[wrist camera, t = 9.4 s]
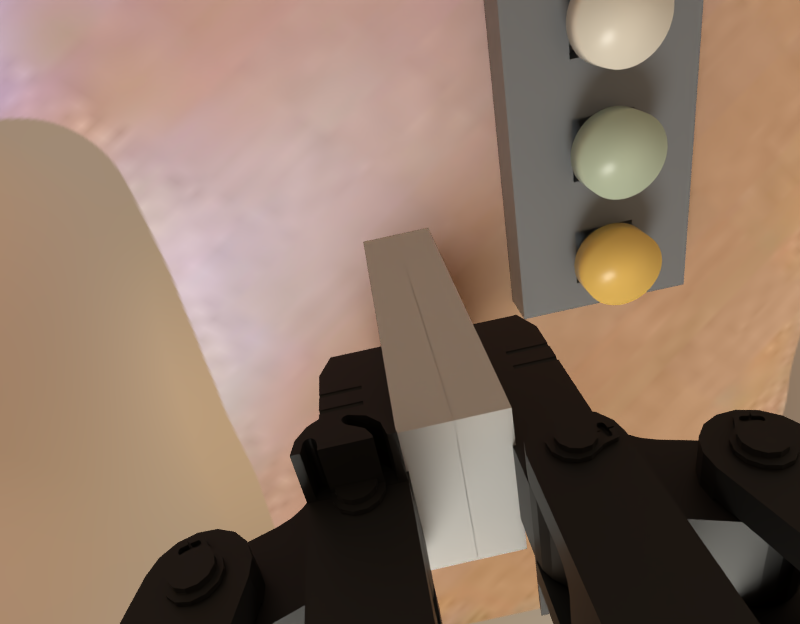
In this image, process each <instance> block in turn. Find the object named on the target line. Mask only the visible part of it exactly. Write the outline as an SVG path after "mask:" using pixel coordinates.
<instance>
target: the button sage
mask: <svg viewBox="0 0 800 624" xmlns="http://www.w3.org/2000/svg"><path fill="white" fill-rule="evenodd" d="M667 148H668V144H667V136H666V133H665V130H664V128H663V126H662V125H661V123H660V122H659V121H658V120H657V119H656V118H655V117H653V116H652V115H650V114H648V113H645V112H643V111H640V110H637V109H634V108H631V107H628V106H612V107H608V108H605V109H603V110H600V111H599V112H597V113H595V114H594V115H593V116H591V117H590V118H589V119H588V120H587V121H586V122H585V123H584V124H583V125H582V126H581V128H580V129H579V131H578V133H577V134H576V136H575V139H574V141H573V144H572V148H571V166H572V169H573V172H574V174H575V176H576V178H577V179H578V180H579V181H580V182H581V183H582V184H583V185H584V186H586V187H587V188H589V189H590V190H591V191H593V192H594V193H596V194H597V195H599V196H601V197H603V198H607V199H613V200H618V199H625V198H629V197H631V196H634V195H636V194H638V193H640V192H641V191H643V190H644V189H645V188H647V187H648V186H649V185H650V184H651V183H652V182H653V181H654V180H655V178H656V177H657V176H658V174H659V173H660V171H661V169H662V167H663V165H664V162H665V159H666V155H667Z"/></svg>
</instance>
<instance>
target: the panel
mask: <svg viewBox="0 0 800 624" xmlns="http://www.w3.org/2000/svg"><path fill="white" fill-rule="evenodd" d="M569 2H570V0H484V7H485V18H486V28H487V38H488V49H489V59H490V70H491V80H492V90H493V101H494V111H495V122H496V132H497V142H498V153H499V163H500V174H501V184H502V195H503V205H504V215H505V226H506V236H507V247H508V257H509V267H510V278H511V288H512V299H513V302H514V303H515V305H516V306H517V308H518V310H519V311H520V313H521V314H522V316H523V317H524V319H527V318H532V317H536V316H541V315H546V314H550V313H555V312H559V311H564V310H568V309H573V308H577V307H582V306H586V305H591V304H596V303H600V302H599V301H597V300H596V299H594V298H593V297H592V296H591V295H590V294H589V292H588V291H587V290H586V289H585V288H584V287H583V286H582V285H581V284H580V282H579V281H578V279H577V277H576V274H575V269H574V262H575V257H576V254H577V252H578V249H579V247H580V244H581V242H582V240H583V238H584V237H585V236H586V235H587V234H588V233H590V232H591V231H594V230H597V229H599V228H601V227H603V226H605V225H608V224H612V223H627V224H631V225H633V226H635V227H637V228H638V229H640V230H641V231H643V232H644V233H645V234H647V235H648V236H649V237H651V238H652V239H653V240H654V241H655V242H656V243H657V244H658V246H659V248H660V251H661V254H662V266H661V270H660V273H659V275H658V277H657V279H656V281H655V282H654V284H653V285H652V286H651V288H650V289H649V290H648V291H647V292H650V291H655V290H659V289H664V288H668V287H673V286H678V285H682V284H683V283H684V269H685V255H686V240H687V226H688V212H689V198H690V183H691V169H692V155H693V141H694V126H695V112H696V98H697V84H698V70H699V55H700V41H701V27H702V13H703V0H674V14H673V19H672V23H671V26H670V28H669V31H668V33H667V35H666V37H665V39H664V40H663V42H662V43H661V45H660V46H659V47H658V49H657V50H656V51H655V52H654V53H653V54H652V55H651V56H650V57H649V58H647V59H646V60H645V61H643V62H641V63H640V64H638V65H636V66H633V67H630V68H627V69H621V70H613V69H607V68H603V67H599V66H595V65H592V64H589V63H587V62H585V61H584V60H582V59H581V58H580V57H579V56H578V55H577V54H576V53H575V52H574V50H573V49H572V47H571V45H570V42H569V40H568V36H567V31H566V16H567V10H568V6H569ZM612 106H628V107H631V108H634V109H637V110H640V111H643V112H645V113H648V114H650V115H652V116H653V117H655V118H656V119H657V120H658V121H659V122H660V123H661V125H662V126H663V128H664V130H665V133H666V136H667V144H668V148H667V155H666V159H665V162H664V165H663V167H662V169H661V171H660V173H659V174H658V176H657V177H656V178H655V180H654V181H653V182H652V183H651V184H650V185H649V186H648V187H647V188H645V189H644V190H643V191H641V192H640V193H638V194H636V195H634V196H631V197H629V198H625V199H618V200H613V199H607V198H603V197H601V196H599V195H597V194H596V193H594V192H593V191H591V190H590V189H589V188H587V187H586V186H584V185H583V184H582V183H581V182H580V181H579V180H578V179H577V178H576V176H575V174H574V172H573V169H572V166H571V148H572V144H573V141H574V139H575V136H576V134H577V133H578V131H579V129H580V128H581V126H582V125H583V124H584V123H585V122H586V121H587V120H588V119H589V118H590V117H591V116H593V115H594V114H595V113H597V112H599V111H600V110H603V109H605V108H608V107H612Z"/></svg>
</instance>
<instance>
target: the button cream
mask: <svg viewBox="0 0 800 624" xmlns="http://www.w3.org/2000/svg"><path fill="white" fill-rule="evenodd" d="M673 14H674V0H570V2H569V6H568V10H567V16H566V31H567V36H568V40H569V42H570V45H571V47H572V49H573V50H574V52H575V53H576V54H577V55H578V56H579V57H580V58H581V59H582V60H584V61H585V62H587V63H589V64H592V65H595V66H599V67H603V68H607V69H613V70H621V69H627V68H630V67H633V66H636V65H638V64H640V63H641V62H643V61H645V60H646V59H647V58H649V57H650V56H651V55H652V54H653V53H654V52H655V51H656V50H657V49H658V47H659V46H660V45H661V43H662V42H663V40H664V39H665V37H666V35H667V33H668V31H669V28H670V26H671V23H672V19H673Z"/></svg>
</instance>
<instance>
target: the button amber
mask: <svg viewBox="0 0 800 624" xmlns="http://www.w3.org/2000/svg"><path fill="white" fill-rule="evenodd" d="M661 266H662V254H661V251H660V248H659V246H658V244H657V243H656V242H655V241H654V240H653V239H652V238H651V237H649V236H648V235H647V234H645V233H644V232H643V231H641V230H640V229H638V228H637V227H635V226H633V225H631V224H627V223H612V224H608V225H605V226H603V227H601V228H599V229H597V230H594V231H591V232H590V233H588V234H587V235H586V236H585V237H584V238H583V240H582V242H581V244H580V247H579V249H578V252H577V254H576V257H575V262H574V269H575V274H576V277H577V279H578V281H579V282H580V284H581V285H582V286H583V287H584V288H585V289H586V290H587V291H588V292H589V294H590V295H591V296H592V297H593V298H594V299H596V300H597V301H599V302H601V303H604V304H608V305H621V304H625V303H629V302H631V301H633V300H635V299H637V298H639V297H640V296H642V295H643V294H644V293H646V292H647V291H648V290H649V289H650V288H651V286H652V285H653V284H654V282H655V281H656V279H657V277H658V275H659V273H660V270H661Z"/></svg>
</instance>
